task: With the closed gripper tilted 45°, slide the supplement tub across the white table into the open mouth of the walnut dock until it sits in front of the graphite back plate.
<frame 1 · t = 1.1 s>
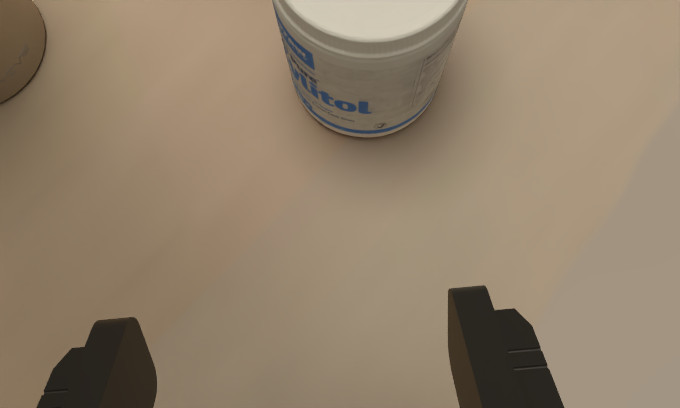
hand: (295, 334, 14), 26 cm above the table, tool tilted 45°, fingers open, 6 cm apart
supplement tub: (367, 73, 43), on the table
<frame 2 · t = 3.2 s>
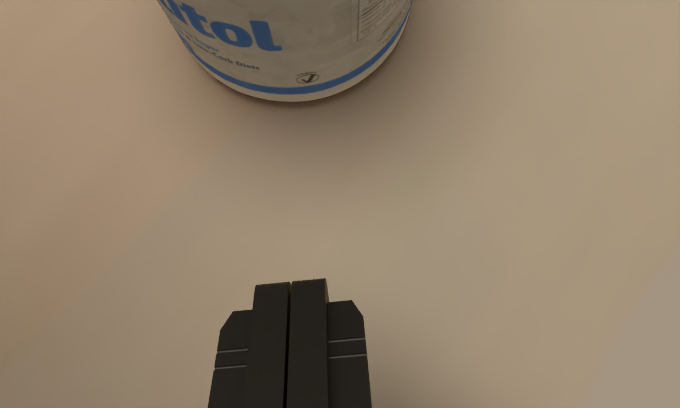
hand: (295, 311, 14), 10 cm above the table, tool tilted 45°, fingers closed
supplement tub: (296, 1, 27), on the table
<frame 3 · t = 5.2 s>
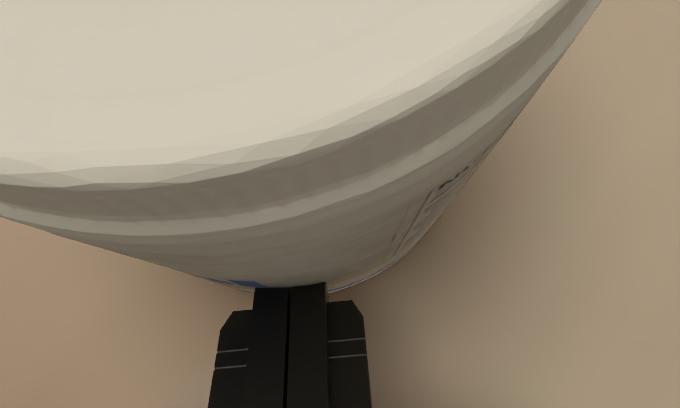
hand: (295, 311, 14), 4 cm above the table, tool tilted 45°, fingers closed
supplement tub: (300, 141, 20), on the table, touching gripper
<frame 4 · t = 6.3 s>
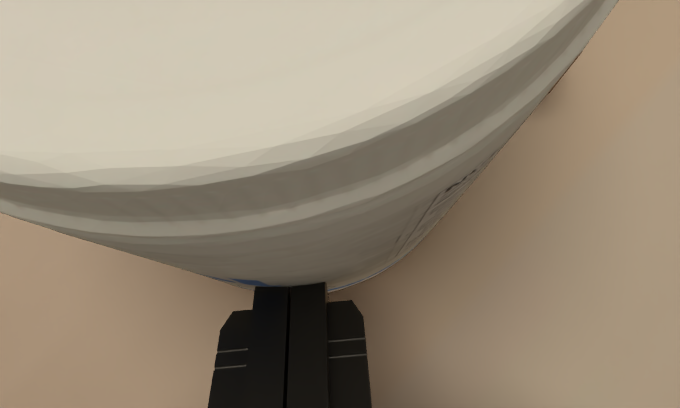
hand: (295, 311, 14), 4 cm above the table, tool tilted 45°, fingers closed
supplement tub: (303, 139, 19), on the table, touching gripper
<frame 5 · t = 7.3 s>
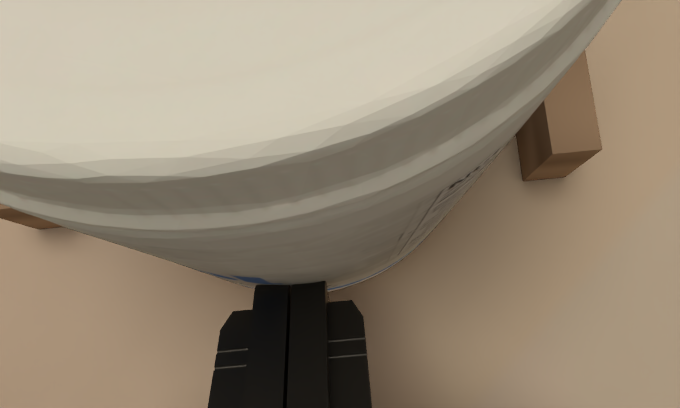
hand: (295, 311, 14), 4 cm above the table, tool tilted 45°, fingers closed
walnut dock: (293, 137, 19), on the table
supplement tub: (305, 138, 19), on the table, touching gripper
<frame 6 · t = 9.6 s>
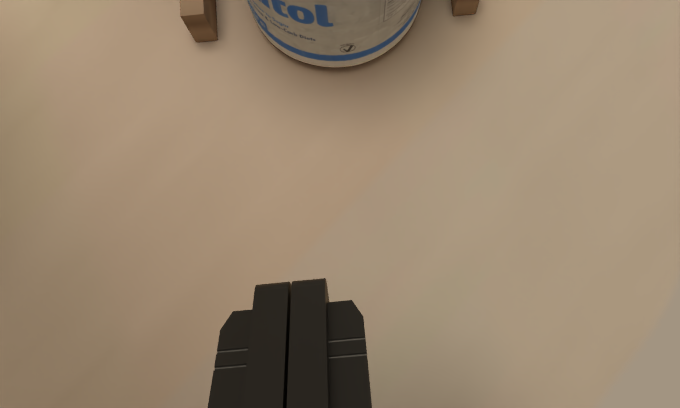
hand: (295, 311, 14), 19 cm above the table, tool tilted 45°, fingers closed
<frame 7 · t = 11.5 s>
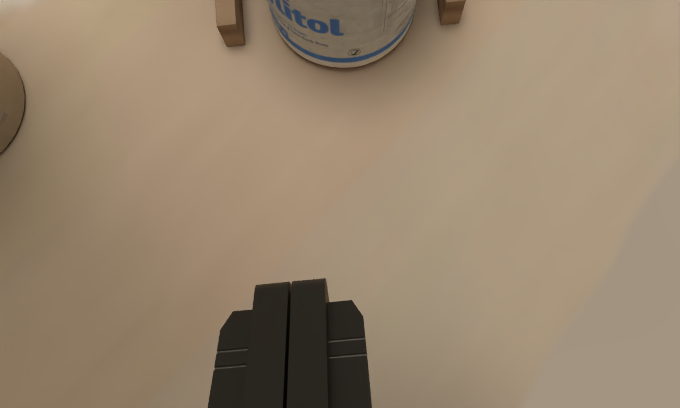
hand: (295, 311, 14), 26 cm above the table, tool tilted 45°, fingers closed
walnut dock: (339, 7, 43), on the table
supplement tub: (344, 7, 44), on the table
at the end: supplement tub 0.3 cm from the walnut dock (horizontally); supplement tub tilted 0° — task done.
